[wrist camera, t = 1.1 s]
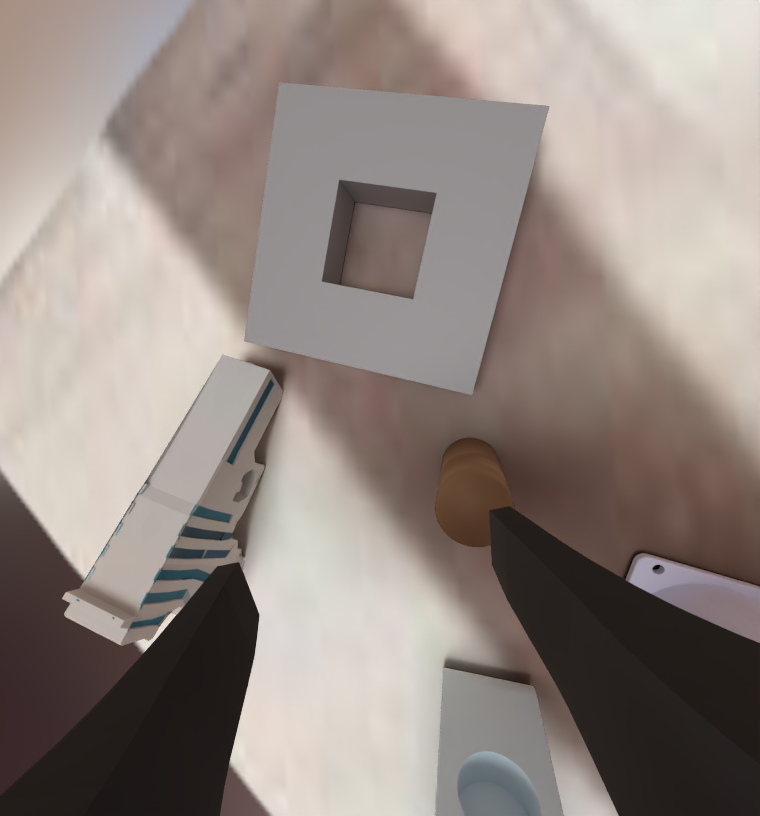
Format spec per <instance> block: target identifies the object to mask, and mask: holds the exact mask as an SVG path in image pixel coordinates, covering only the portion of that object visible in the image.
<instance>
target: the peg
mask: <svg viewBox="0 0 760 816" xmlns="http://www.w3.org/2000/svg"><path fill="white" fill-rule="evenodd" d="M507 506H510V507H512V508H513V509H515V506H514V502H513V499H512V496H511V493H510V491H509V488H508V485H507V482H506V480H505V477H504V474H503V471H502V469H501V466H500V463H499V460H498V458H497V455H496V453H495V451H494V450H493V448H492V447H491V446H490V445H488V444H487V443H486V442H484V441H482V440H479V439H475V438H464V439H460V440H458V441H456V442H454V443H453V444H451V445H450V446H449V447H448V449H447V450H446V452H445V454H444V457H443V462H442V468H441V474H440V480H439V486H438V492H437V498H436V504H435V511H436V517H437V520H438V523H439V524H440V526H441V528H442V529H443V531H444V532H445V533H446V534H447V535H448V536H449V537H450V538H452V539H453V540H455V541H457V542H459V543H461V544H463V545H467V546H472V547H483V546H488V545H491V535H490V517H489V510H493V509H498V508H502V507H507Z"/></svg>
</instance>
